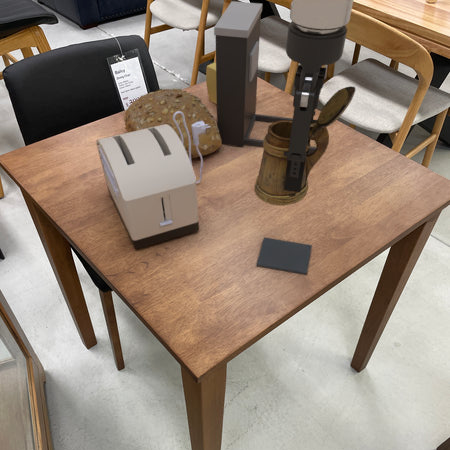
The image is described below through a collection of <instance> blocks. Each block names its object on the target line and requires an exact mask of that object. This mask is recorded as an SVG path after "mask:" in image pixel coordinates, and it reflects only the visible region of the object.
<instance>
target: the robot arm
mask: <svg viewBox="0 0 450 450" xmlns="http://www.w3.org/2000/svg"><path fill="white" fill-rule="evenodd" d="M353 4H354V0H292V1H291V3H290V10H289V19H290V21H291V22H290V23H288V27H287V34H286V35H287V36H286V45H285V53H286V56H287V57H288V59H290V60H291V61H292V62H294V63H298V65H297V71H296V72H295V76H294V81H293V85H294V95H293V101H292V107H293V114H292V118H293V121H292V128H291V136H290V143H289V150H288V152H286V151H285V152H284V156H286V157H287V160H288V161H287V169H286V177H285V185H284V190H286V191H293V192H301V186H302V180H303V174H304V168H305V162H306V156H307V154H309V153H308V152H309V149H308V150H307V151H306V149H307V143H308V137H309V132H310V126H311V124H313V123H315V122H316V121H317V119H314V118H315V115H316V110H317V108H318V106H319V102H320V101H319V100H320V95H321V92H322V89H323V87H324V82H325V77H326V73H327V67H325V66H330V65H333V64H336V63H337V62H338V61H339V60H340V59H342V57H343V53H344V48H345V43H346V38H347V33H348V28H347V25H348V24H349V22H350V20H351V15H352V10H353ZM309 143H310V144H311V140H309Z"/></svg>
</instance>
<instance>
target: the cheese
mask: <svg viewBox="0 0 450 450" xmlns="http://www.w3.org/2000/svg"><path fill="white" fill-rule="evenodd" d="M205 71H206V72H205V81H206V90H207V91H206V92H207V95H208V101H209V102H211V103H213V104H215V105H217V94H216V61H215V62H213V63H212V62H211V63H210V64H208V65H207V66H206V70H205Z"/></svg>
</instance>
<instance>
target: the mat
mask: <svg viewBox="0 0 450 450" xmlns="http://www.w3.org/2000/svg"><path fill="white" fill-rule="evenodd" d="M312 247H313V245H312V244H307V243H301V242H294V241H288V240H283V239H276V238H270V237H265V236H263V238H262V243H261V246H260V250H259V254H258V258H257V261H256V265H255V266H256V267H260V268H266V269H271V270H276V271H282V272H288V273H293V274H299V275H305V276H306V275H308V270H309V265H310V259H311V253H312Z"/></svg>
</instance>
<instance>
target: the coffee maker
mask: <svg viewBox="0 0 450 450" xmlns="http://www.w3.org/2000/svg"><path fill="white" fill-rule="evenodd" d="M262 12H263V3H259V2H245V1H235V0H234V1H230V3H229V4H228V6H227V8H226V9H225V11H224V12H223V13H222V15H221V16H220V18H219V19H218V21H217V23H216V24H215V25H214V27H213V35H214V36H215V62H216V94H217V104H216V123H217V127H218V130H219V134H220V138H221V139H222V141H221V142H222V145H225V146H232V147H238V148H244V147H245V146H252V147H259V148H263V142H264V139H255V138H250V136H251V134H252V131H253V128H254V126H255V123H256V121H257V122H258V121H259V122H265V123H266V122H267V123H274V122H276V121H282V120H288V121H293V117H292V118H291V117H284V116H276V115H268V114H259V113H256V109H257V94H258V93H257V92H258V91H257V90H258V77H259V76H258V75H259V58H260V57H259V55H260V39H261V38H260V36H261V20H262V19H261V17H262ZM316 147H317V146H310V147H309V152H308V154H310V153H312V152H314V151H315V149H316Z"/></svg>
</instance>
